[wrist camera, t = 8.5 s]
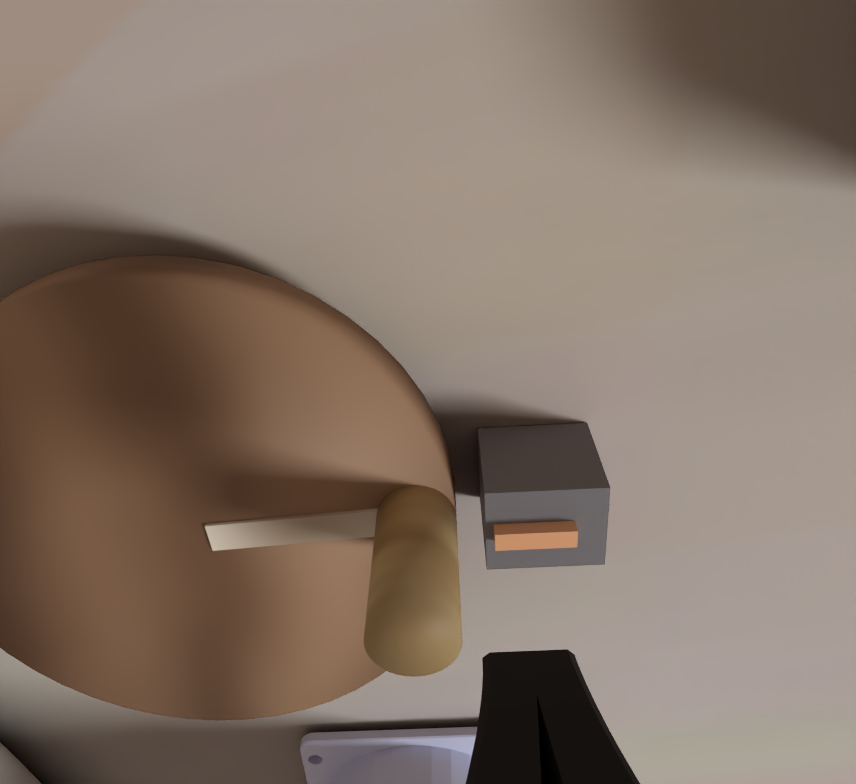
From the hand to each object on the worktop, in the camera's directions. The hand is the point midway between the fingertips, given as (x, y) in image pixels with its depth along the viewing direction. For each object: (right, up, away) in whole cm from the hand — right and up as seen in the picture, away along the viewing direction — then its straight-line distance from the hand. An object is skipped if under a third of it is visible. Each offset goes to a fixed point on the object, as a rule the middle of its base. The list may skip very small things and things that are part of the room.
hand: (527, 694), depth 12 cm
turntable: (-8, +2, +8) cm, 12 cm away
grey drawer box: (+1, +3, +9) cm, 10 cm away
